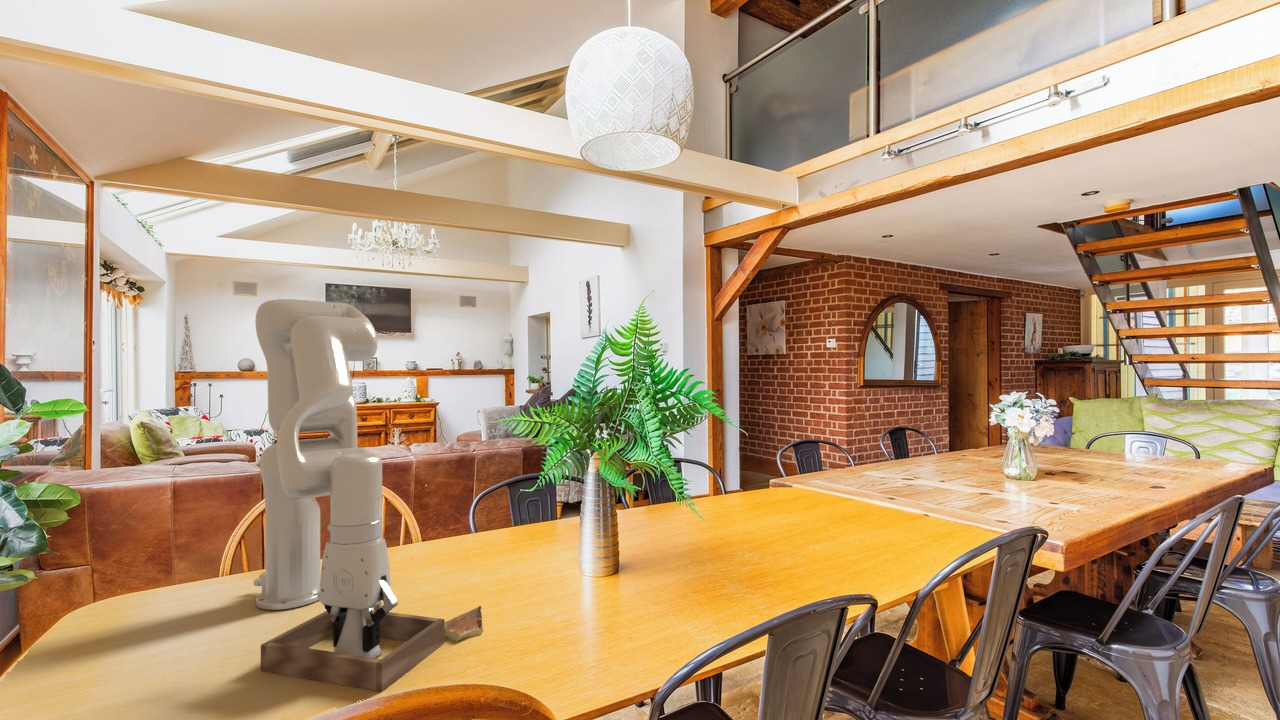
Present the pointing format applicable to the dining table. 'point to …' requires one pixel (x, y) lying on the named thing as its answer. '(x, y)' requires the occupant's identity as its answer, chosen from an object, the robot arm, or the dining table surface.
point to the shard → (464, 625)
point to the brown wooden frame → (351, 670)
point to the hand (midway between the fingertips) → (356, 644)
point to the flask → (354, 636)
